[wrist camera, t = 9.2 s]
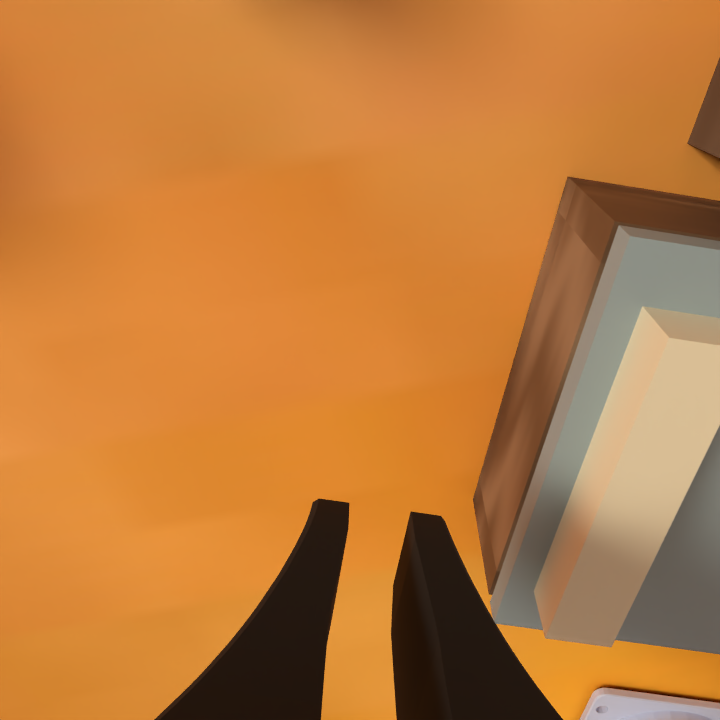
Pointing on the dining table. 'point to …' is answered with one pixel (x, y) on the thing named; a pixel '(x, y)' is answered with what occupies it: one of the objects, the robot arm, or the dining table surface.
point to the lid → (630, 463)
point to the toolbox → (563, 336)
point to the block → (709, 119)
